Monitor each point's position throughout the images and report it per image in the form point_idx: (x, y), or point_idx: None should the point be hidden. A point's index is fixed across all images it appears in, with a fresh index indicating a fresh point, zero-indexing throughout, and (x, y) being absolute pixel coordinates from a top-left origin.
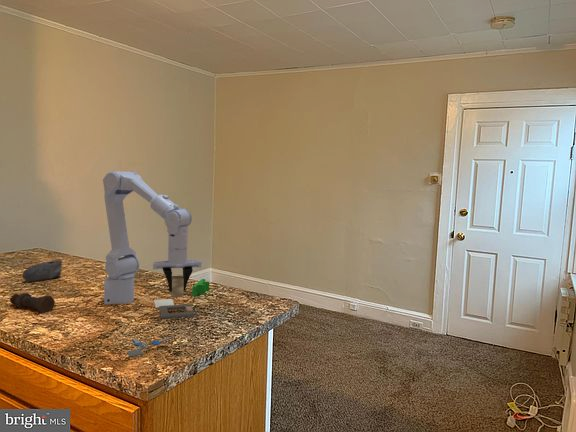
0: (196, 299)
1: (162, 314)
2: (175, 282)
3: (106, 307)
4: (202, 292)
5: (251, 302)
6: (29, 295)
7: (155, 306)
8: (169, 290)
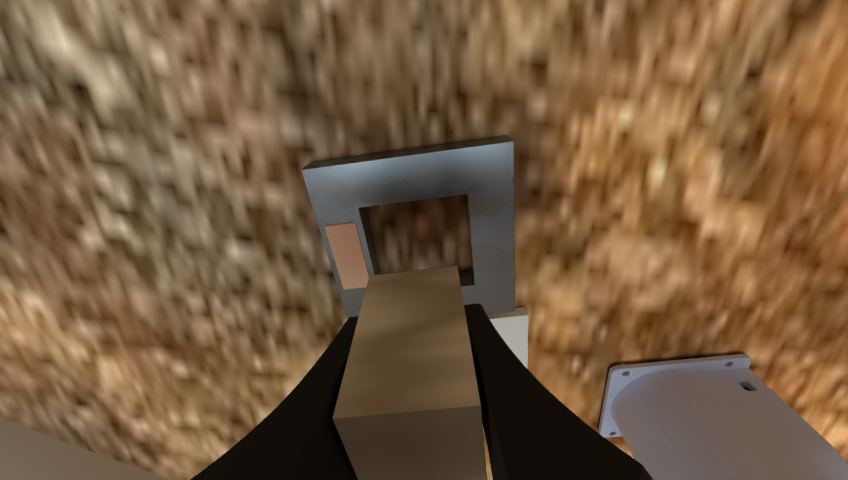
0: None
1: (505, 177)
2: (435, 366)
3: (735, 352)
4: None
5: (68, 359)
6: None
7: (527, 327)
8: (484, 312)
